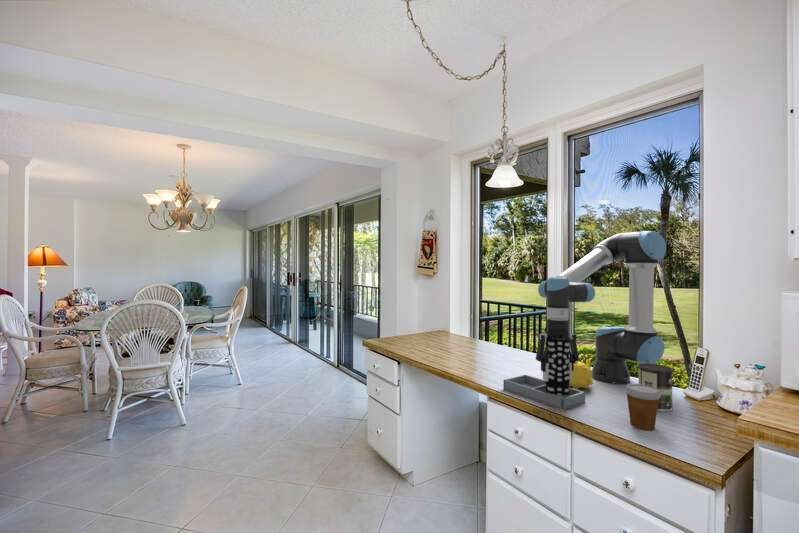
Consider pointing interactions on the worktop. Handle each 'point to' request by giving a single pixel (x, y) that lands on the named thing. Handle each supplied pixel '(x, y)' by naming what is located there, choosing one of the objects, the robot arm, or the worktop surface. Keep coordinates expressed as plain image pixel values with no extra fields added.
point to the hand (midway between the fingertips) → (557, 379)
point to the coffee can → (658, 382)
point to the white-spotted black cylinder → (558, 366)
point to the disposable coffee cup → (642, 405)
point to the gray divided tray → (543, 392)
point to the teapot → (581, 375)
